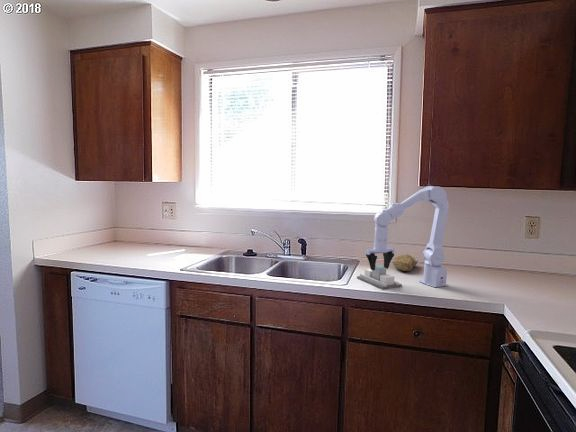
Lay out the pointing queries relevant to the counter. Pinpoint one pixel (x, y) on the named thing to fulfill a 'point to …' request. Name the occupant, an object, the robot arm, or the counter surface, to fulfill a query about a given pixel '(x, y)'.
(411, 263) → the sponge
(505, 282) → the counter surface
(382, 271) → the module
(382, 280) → the rail board
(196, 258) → the counter surface
